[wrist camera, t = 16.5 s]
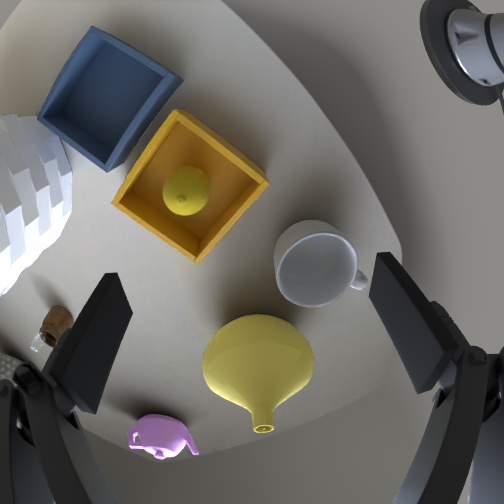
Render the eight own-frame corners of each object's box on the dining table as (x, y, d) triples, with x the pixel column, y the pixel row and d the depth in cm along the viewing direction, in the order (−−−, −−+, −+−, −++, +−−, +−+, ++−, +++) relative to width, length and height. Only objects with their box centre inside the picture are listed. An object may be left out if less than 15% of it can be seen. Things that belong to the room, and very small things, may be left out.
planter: (46, 366, 55) (23, 417, 40) (53, 394, 63) (37, 438, 48) (-3, 337, 51) (-29, 381, 35) (9, 369, 59) (-10, 409, 43)
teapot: (137, 429, 71) (132, 459, 61) (122, 407, 64) (114, 442, 53) (203, 435, 72) (202, 468, 62) (196, 415, 65) (194, 453, 54)
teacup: (255, 255, 41) (259, 288, 34) (298, 195, 37) (313, 218, 30) (325, 292, 46) (338, 324, 39) (367, 242, 41) (389, 270, 34)
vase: (224, 371, 55) (223, 453, 38) (189, 310, 46) (173, 408, 29) (310, 353, 53) (331, 435, 37) (296, 284, 44) (324, 383, 28)
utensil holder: (49, 300, 44) (22, 341, 34) (74, 310, 45) (50, 354, 35) (53, 320, 47) (30, 361, 36) (77, 330, 48) (56, 373, 38)
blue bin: (184, 79, 29) (174, 75, 24) (123, 163, 33) (106, 173, 28) (110, 34, 24) (91, 25, 19) (58, 115, 29) (36, 119, 24)
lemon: (185, 152, 33) (171, 165, 26) (221, 175, 35) (217, 194, 28) (163, 187, 35) (146, 208, 28) (198, 208, 37) (189, 234, 30)
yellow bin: (265, 172, 35) (270, 183, 30) (202, 244, 40) (198, 264, 35) (183, 108, 31) (173, 108, 26) (126, 189, 35) (110, 203, 30)
